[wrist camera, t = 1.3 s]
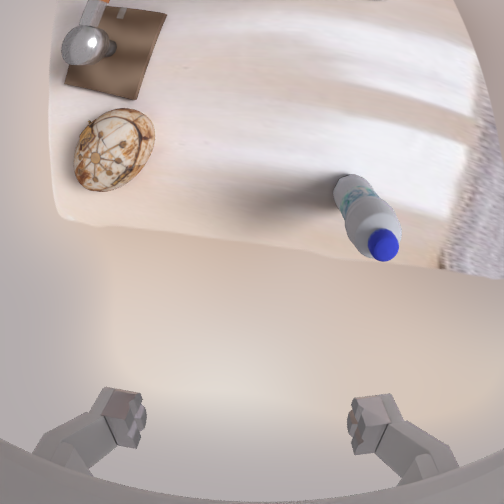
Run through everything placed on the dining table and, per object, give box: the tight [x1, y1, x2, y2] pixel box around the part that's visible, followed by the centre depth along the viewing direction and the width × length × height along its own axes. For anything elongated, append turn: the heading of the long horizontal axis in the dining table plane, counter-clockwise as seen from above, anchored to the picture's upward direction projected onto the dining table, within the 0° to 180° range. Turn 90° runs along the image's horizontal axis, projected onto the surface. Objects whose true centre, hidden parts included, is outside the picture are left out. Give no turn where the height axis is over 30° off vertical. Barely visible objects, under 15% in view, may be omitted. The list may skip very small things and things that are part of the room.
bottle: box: [333, 174, 402, 262], centre depth 39 cm, size 7×7×20 cm
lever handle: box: [62, 0, 110, 65], centre depth 30 cm, size 13×6×4 cm, turn 159°
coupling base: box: [64, 6, 167, 100], centre depth 36 cm, size 15×15×6 cm
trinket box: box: [74, 108, 155, 192], centre depth 44 cm, size 13×15×8 cm
